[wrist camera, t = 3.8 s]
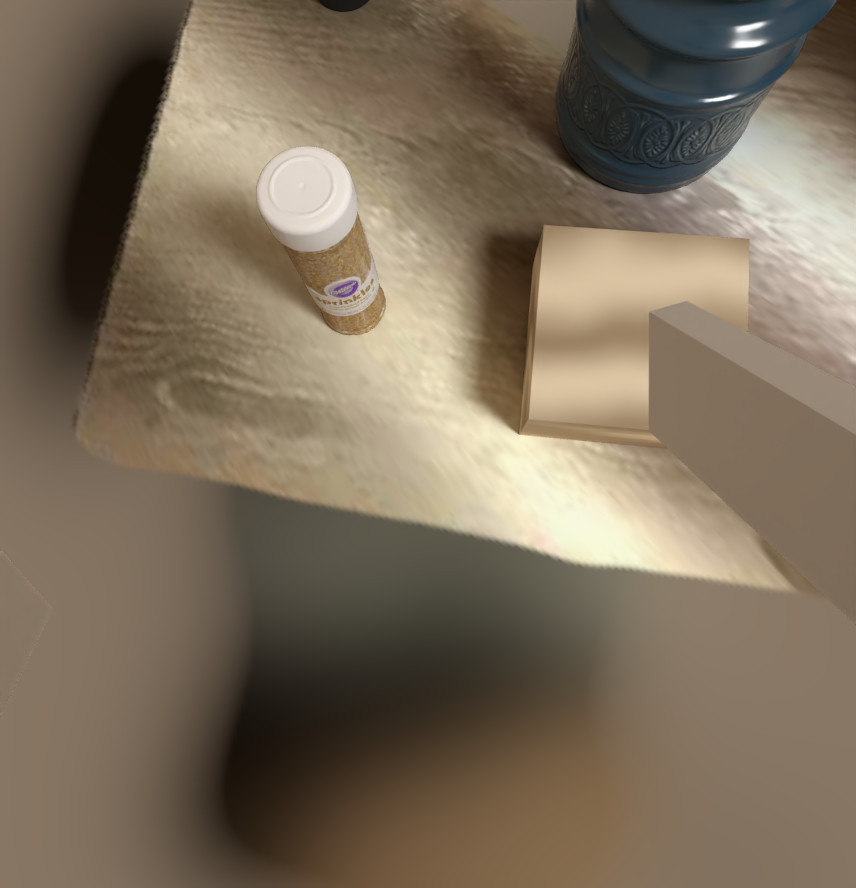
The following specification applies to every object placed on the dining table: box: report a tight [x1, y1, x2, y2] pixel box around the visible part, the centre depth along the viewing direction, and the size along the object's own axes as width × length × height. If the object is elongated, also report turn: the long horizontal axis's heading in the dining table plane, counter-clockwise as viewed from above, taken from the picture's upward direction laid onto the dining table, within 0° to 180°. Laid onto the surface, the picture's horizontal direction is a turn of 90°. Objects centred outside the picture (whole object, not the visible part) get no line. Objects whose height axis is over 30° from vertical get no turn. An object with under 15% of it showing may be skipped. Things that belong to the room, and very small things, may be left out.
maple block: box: [519, 225, 749, 449], centre depth 35 cm, size 12×12×5 cm
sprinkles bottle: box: [256, 146, 386, 335], centre depth 32 cm, size 5×5×14 cm
